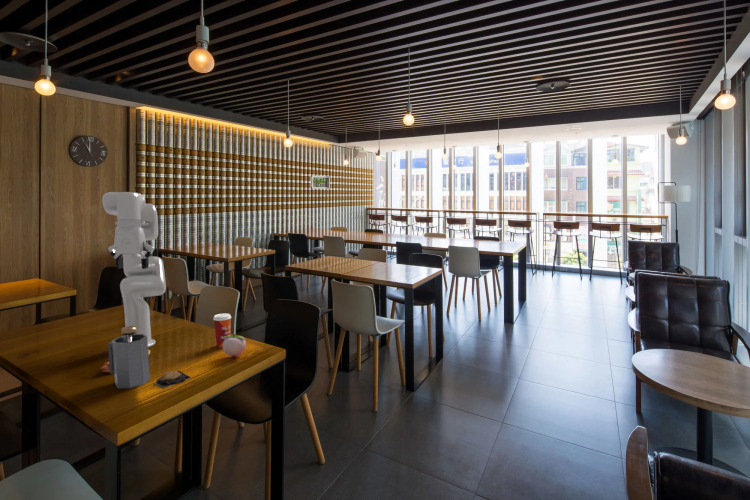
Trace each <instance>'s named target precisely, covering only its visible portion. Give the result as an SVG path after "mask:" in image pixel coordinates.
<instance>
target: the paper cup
mask: <svg viewBox="0 0 750 500" xmlns="http://www.w3.org/2000/svg"><path fill="white" fill-rule="evenodd" d="M231 319H232V316H231V314H230V313H218V314H215V315H214V316H213V318H212V320H213V324H214V325H213V326H214V334H215V340H216V341H215V342H216V347H217V348H219V349H223V342H224V340H225V339H226V338H227V337H226V338H224V337H225V336H229V335H231V326H232V325H231V324H232V323H231V321H232V320H231ZM223 338H224V339H223Z"/></svg>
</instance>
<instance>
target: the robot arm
mask: <svg viewBox="0 0 750 500" xmlns="http://www.w3.org/2000/svg"><path fill="white" fill-rule="evenodd" d="M101 203H102V206H103V209H104V211H105V213H106V214H108V215H111V216H115V217H117V221H115V222H114V225H115V226H116V227H115V229H114V230H115V231H114V243H113V244H112V245H110V246H108V247H107V249H108V251H109V253H110V255H111V256H112V257H113V259H115V267H116V270H120V269H123V273H124V275H125V278H123V279H122V280H121V281H120V283H119V288H120V293H121V297H122V303H123V309H124V310H123V311H124V325H125V326H124V327H127V326H136V330H137V333H135V334H144V335H146V336H147V345H148V348H150V347H152V346H154V345H155V344H156V339H154V338H152V330H151V313H150V312H151V311H150V306H149V304H148V303H147V302H146V300H144V299H143V298H147V297H156V296H162V295H164V293H166V290H167V284H166V276H165V275H166V274H165V266H164V265H165V264H164V261H163V259H162V258H161V257H159V256H152V254H153V252H154V250H155V246H153V245H150V244H149V243H147V241H154V240H157V238H158V237H159V220H158V219H159V217H158V211H157V208H156V206H155V205H154V204H152V203H146V198H145V197H144V196H143V194H141V193H140V192H131V191H121V192H119V191H110V192H109V191H108V192H105V193H104V194H103V195H102V202H101ZM147 249H148V250H147Z"/></svg>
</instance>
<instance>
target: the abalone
mask: <svg viewBox="0 0 750 500" xmlns="http://www.w3.org/2000/svg"><path fill="white" fill-rule="evenodd" d="M189 379H191V376H189V375H188V374H185V373H184V372H182V371H180V370H177V371H175V370H174V371H173V370H172V371H167V372H166V373H164V374H163V375H161V376H160V377H159V378H157V380H156V381H154V382H153V385H155V386H157V387H159V388H161V389H166V388H169V387H172V386H173V387H174V386H175V385H178V384H181V383H183V382H185V381H187V380H189Z"/></svg>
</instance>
